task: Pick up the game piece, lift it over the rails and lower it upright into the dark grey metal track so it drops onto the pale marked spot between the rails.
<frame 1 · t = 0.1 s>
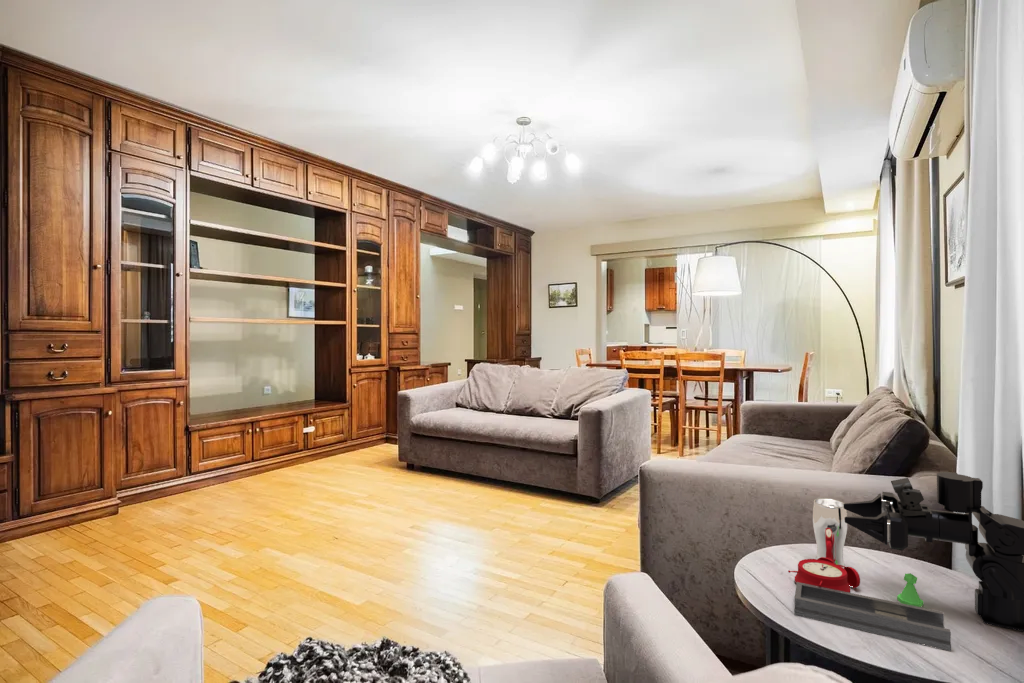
hand: (844, 512, 113), 17 cm above the table, tool horizontal, fingers open, 9 cm apart
game piece: (910, 603, 108), on the table
track: (866, 620, 101), on the table
alarm clock: (826, 585, 115), on the table, touching track
beer glass: (829, 566, 124), on the table
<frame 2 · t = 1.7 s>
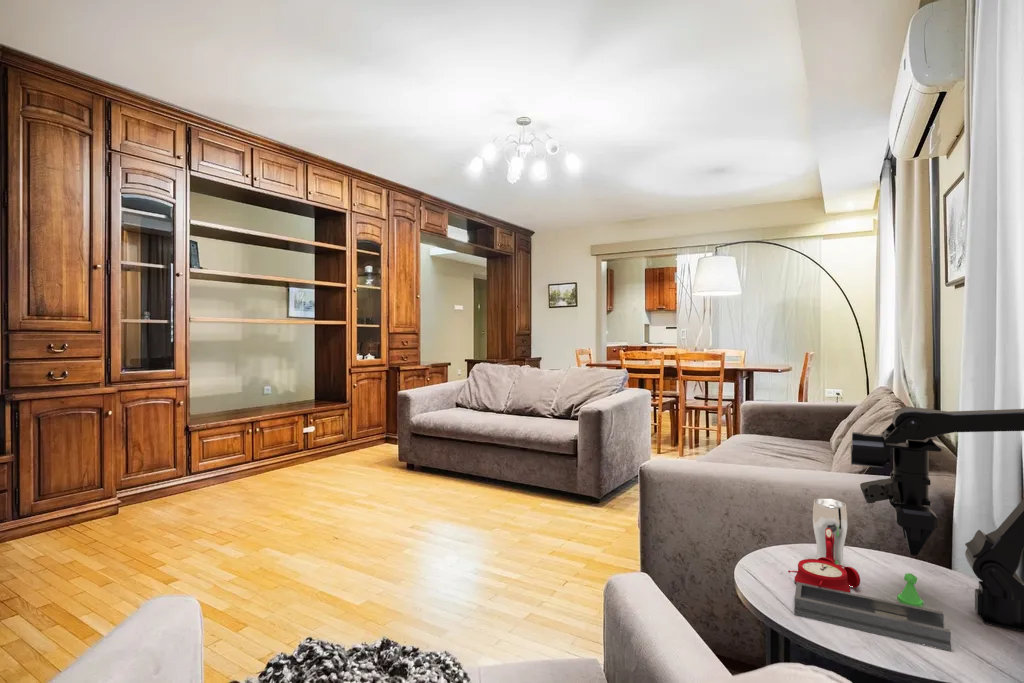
hand: (910, 546, 107), 11 cm above the table, tool pointing down, fingers open, 9 cm apart
nothing on the table moved.
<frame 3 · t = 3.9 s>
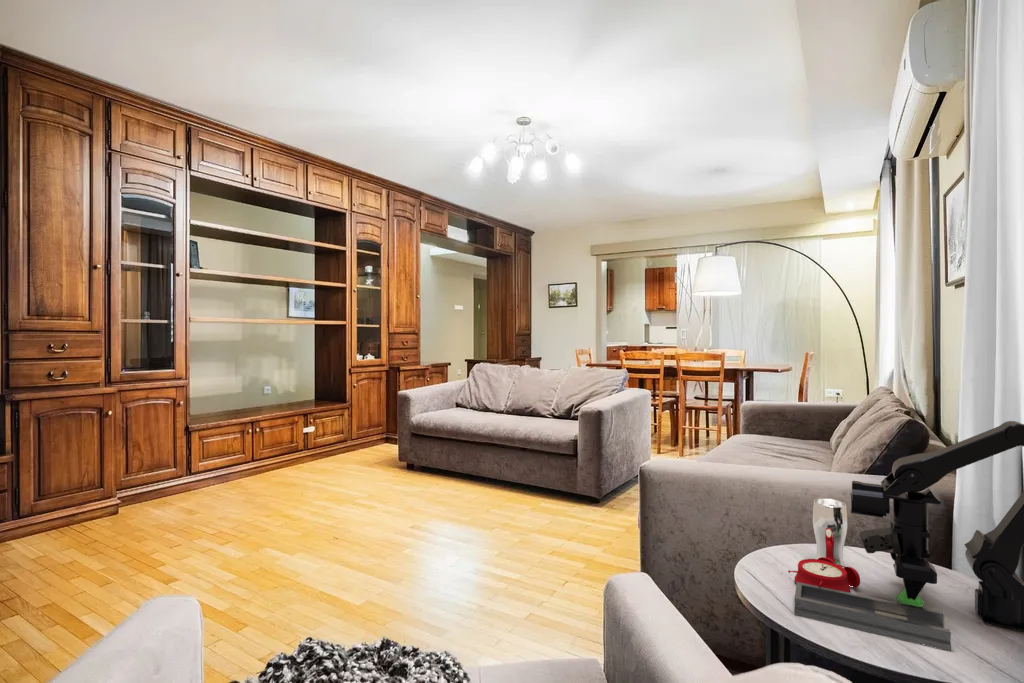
hand: (910, 597, 108), 1 cm above the table, tool pointing down, fingers closed on game piece, 2 cm apart
game piece: (910, 603, 108), on the table, touching gripper
everything else where it was.
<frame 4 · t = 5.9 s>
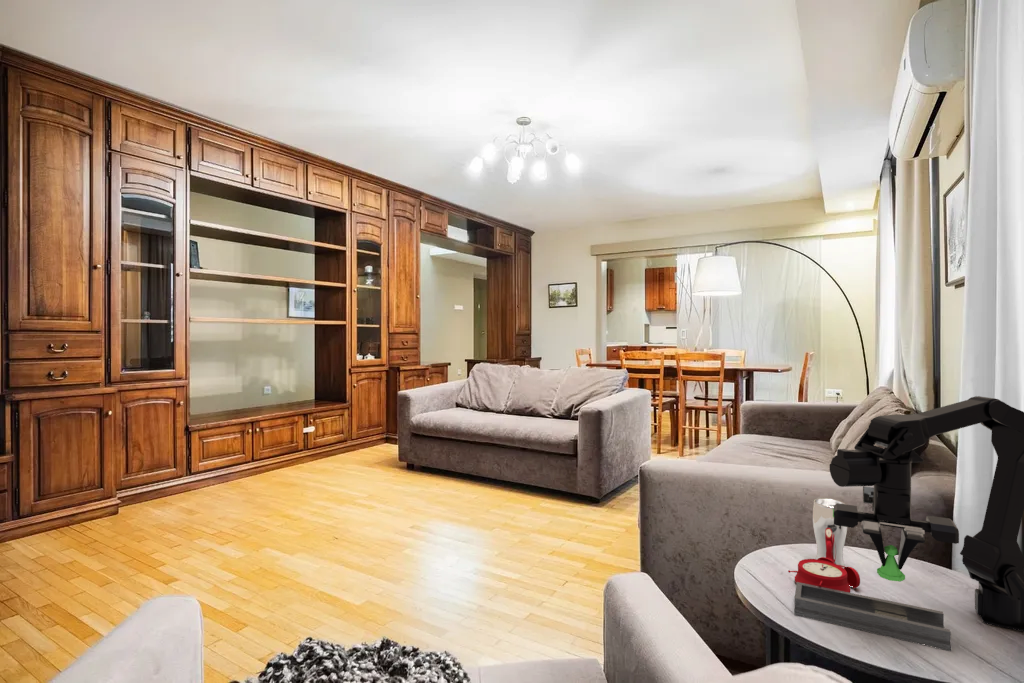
hand: (891, 567, 99), 11 cm above the table, tool pointing down, fingers closed on game piece, 2 cm apart
game piece: (890, 577, 100), point 9 cm above the table, touching gripper
everything else where it was.
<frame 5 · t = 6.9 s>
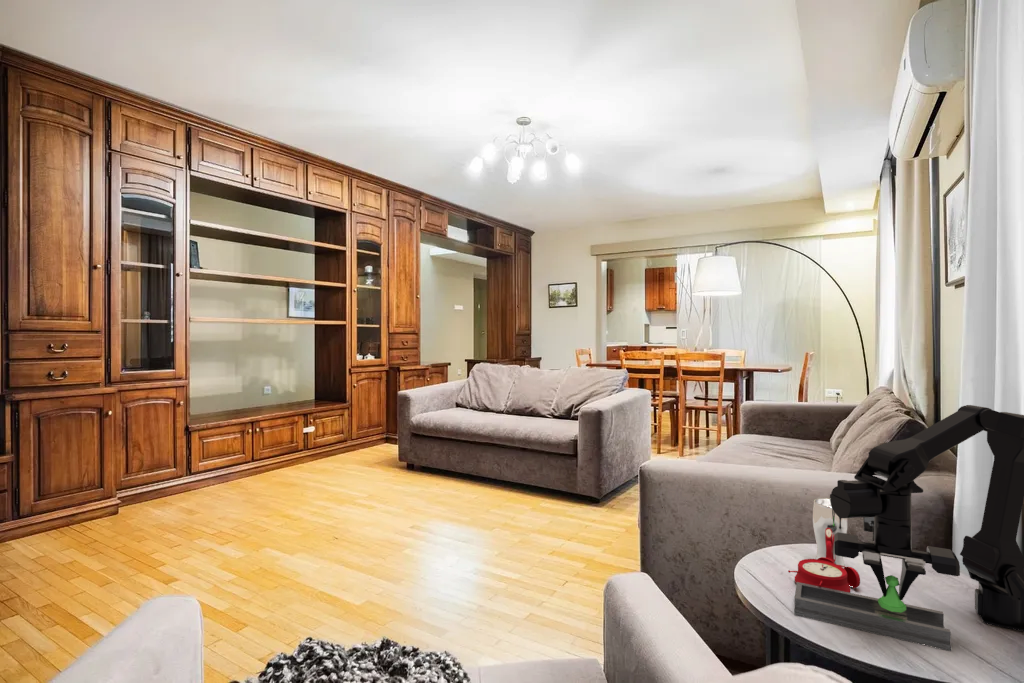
hand: (892, 597, 99), 5 cm above the table, tool pointing down, fingers closed on game piece, 2 cm apart
game piece: (891, 607, 100), point 3 cm above the table, touching gripper
everything else where it was.
when the fingers open (3 cm above the table, at t = 7.8 s): game piece stays where it is, resting on track.
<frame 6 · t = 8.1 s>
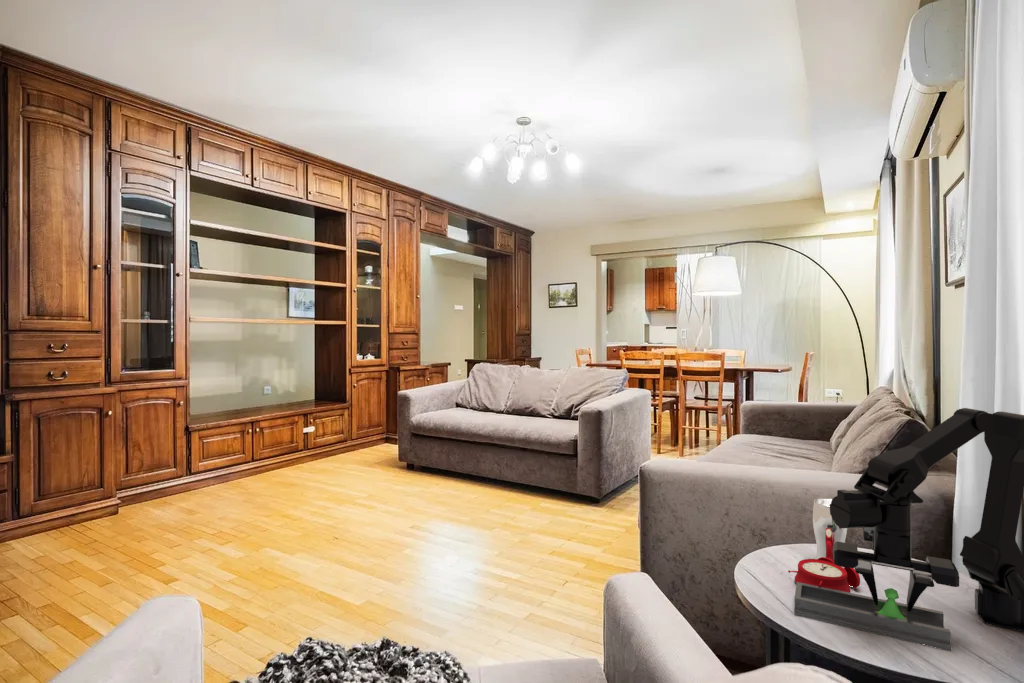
hand: (892, 607, 99), 3 cm above the table, tool pointing down, fingers open, 5 cm apart
game piece: (891, 620, 100), point 1 cm above the table, touching track
everything else where it was.
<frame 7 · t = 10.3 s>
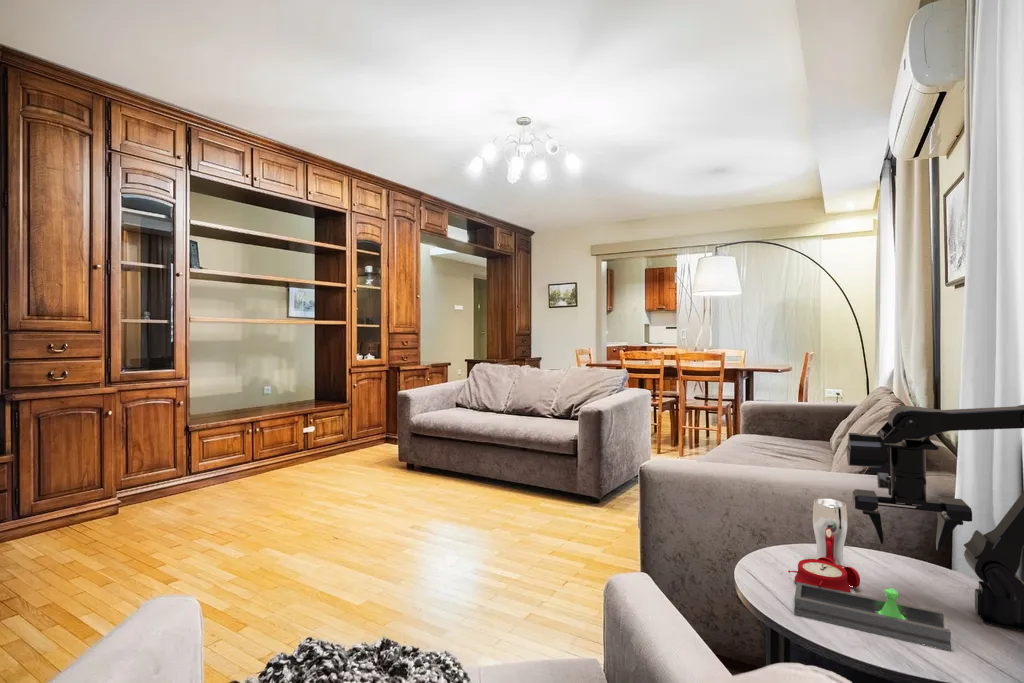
hand: (909, 546, 106), 12 cm above the table, tool pointing down, fingers open, 9 cm apart
nothing on the table moved.
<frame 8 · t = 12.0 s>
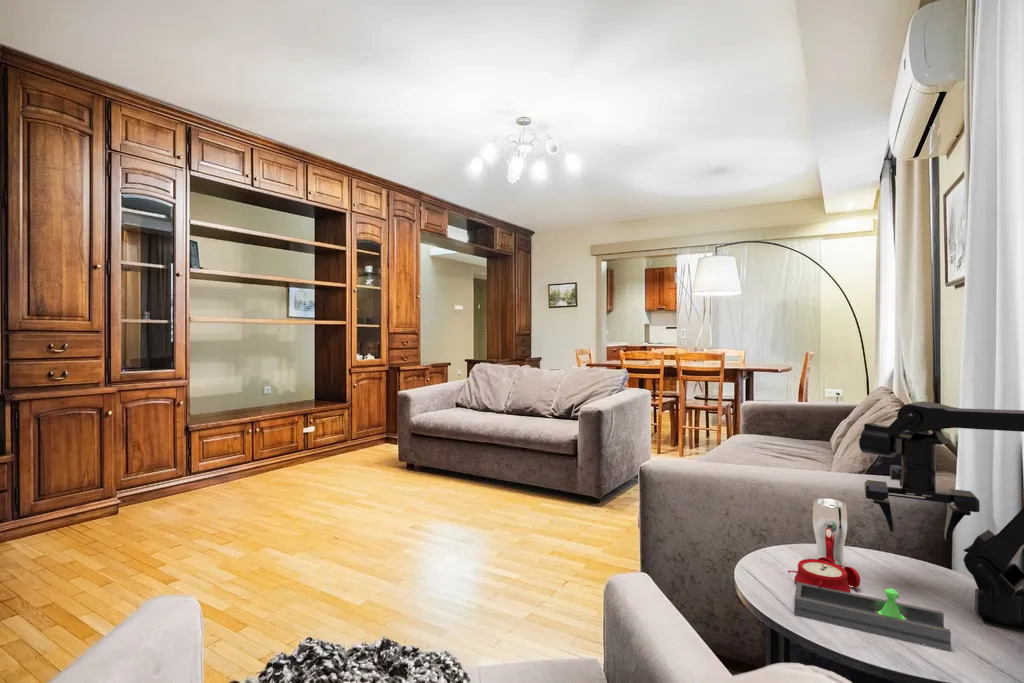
hand: (918, 535, 111), 12 cm above the table, tool pointing down, fingers open, 9 cm apart
nothing on the table moved.
at the end: game piece 0.2 cm from the target spot on the track, point 0.9 cm above the track's base; game piece tilted 0°; the gripper is holding nothing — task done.
